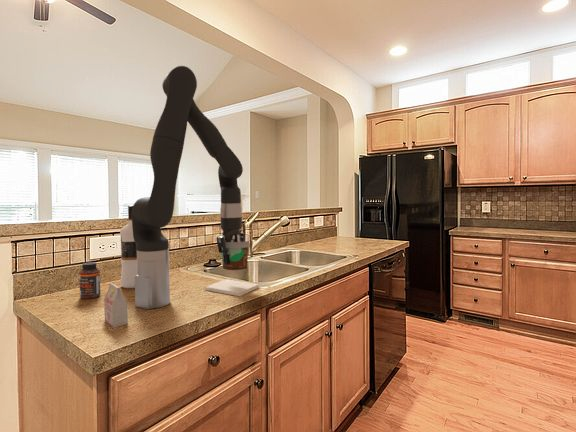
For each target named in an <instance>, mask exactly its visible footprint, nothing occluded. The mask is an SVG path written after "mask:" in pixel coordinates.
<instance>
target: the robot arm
mask: <svg viewBox="0 0 576 432" xmlns="http://www.w3.org/2000/svg"><path fill="white" fill-rule="evenodd" d="M197 87H198V81H197V77H196V75H195V73H194V71H193V70H192V69H191V68H190V67H187V66H185V65H177V66H175V67H172V69H171V70H170V71H169V72H168V73H167V74H166V76H165V77H164V78H163V80H162V90H163V93H164V94H165V96H166V101H165V103H164V104H165V105H164V107H163V111H162V113H161V115H160V116H159V117H160V118H159V120H158V122H157V123H156V127H155V130H154V133H153V137H152V141H151V146H150V152H149V153H150V154H149V155H150V156H149V157H150V163H151V167H152V171H153V185H152V189H151V193H150V196H143V197H141V198H139V199H137V200H136V201H135V202H134V204H132V205H133V208H132V228H133V238H134V241H135V243H136V247H137V275H135V288H134V298H135V300H134V301H135V303H134V304H135V307H138V308H140V309H141V308H142V309H146V310H151V309H157V308H161V307H165V306H167V305H169V304H170V303H171V289H170V287H171V285H170V279H171V278H170V249H169V248H170V247H169V240H168V238H167V237H165V235H164V234H163V233H162V229H161V228H165V227H167V226H168V224H169V223H170V222H171V221H172V218H173V215H174V209H175V196H176V189H177V188H176V186H177V180H178V176H179V169H180V164H181V160H182V155H183V149H184V146H185V145H184V144H185V138H186V134H187V128H188V124H189V126H190V127H191V128H192V130H193V131H194V132H195V134H196V136H197V137H198V139H199V140H200V142H201V143H202V146H203V147H204V148H205V150H206V151H207V153H208V154H209V156H210V157H211V158H213V159H214V160H216V162H217V163H218V165H219V166H218V169H217V175H218V182H219V183H218V184H219V188H220V212H219V213H220V215H219V217H220V229H221V230H222V235H221V236H216V242H217V243H216V244H217V249H218V253H219V254H221V255H222V254H223V262H224V264H225V265H229V264H230V248H227V250H226V245H225V242H246V233H245V232H241V231H240V230H241V229H242V228H243V211H242V210H243V209H242V197H241V194H242V193H241V188H240V187H239V186H238V179H239V178H240V177H241V176H242V175H243V171H244V168H243V165H242V163H241V161H240V159H239V158H238V157H237V155H236V154H235V153H234V151H233V150H232V149H231V148H230V147H229V146H228V143H227V142H226V140H225V139H224V138H223V135H222V134H221V132H220V130H219V129H218V127H217V126H216V125H215V124H214V123H213V122H212V121H211V120H210V119H209V118H208V117H207V116H206V115H205V114H204V113H203V112H202V111H201V109H200V108H199V107H198V105H197V104H196V102H195V100H194V97H195V94H196V91H197ZM221 247H222V248H223V250H222V248H221Z"/></svg>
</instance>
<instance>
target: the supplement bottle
mask: <svg viewBox="0 0 576 432" xmlns="http://www.w3.org/2000/svg"><path fill="white" fill-rule="evenodd" d="M100 273H101V271H100V269H99V268H97V262H96V261H95V262H94V261H89V262H84V263H82V269H81V270H79V276H78V278H79V283H78V284H79V297H80V299H84V300H85V299H86V300H89V299H95V298H99V296H100V295H101V275H100Z"/></svg>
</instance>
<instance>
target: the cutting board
mask: <svg viewBox="0 0 576 432" xmlns="http://www.w3.org/2000/svg"><path fill="white" fill-rule="evenodd" d="M258 288H260V284H259V283H253V282H247V281H242V280H235V279H234V280H233V279H227V278H226V279H223V280H221V281H218V282H215V283H212V284H209V285H207V286H204V290H205V291H208V292H214V293H218V294H219V293H220V294H225V295H231V296H236V297H241V296H243V295H245V294H247V293H249V292H252V291H254V290H257V289H258Z"/></svg>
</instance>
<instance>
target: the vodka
mask: <svg viewBox="0 0 576 432" xmlns="http://www.w3.org/2000/svg"><path fill="white" fill-rule="evenodd" d="M133 205H134V204H131V205H128V206H127V212H128V215H127V216H128V218H127V219H128V220H127V221H128V223H127V224H126V225H124V226H123V227H122V228H121V229H120V232H119V234H120V251H121V252H120V253H121V255H120V256H121V259H120V262H121V274H120V275H121V276H120V280H119V281H120V282H119V283H120V286H121V287H122V288H123V289H135V275H137V247H136V243H135V241H134V238H133V228H132V208H133Z"/></svg>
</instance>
